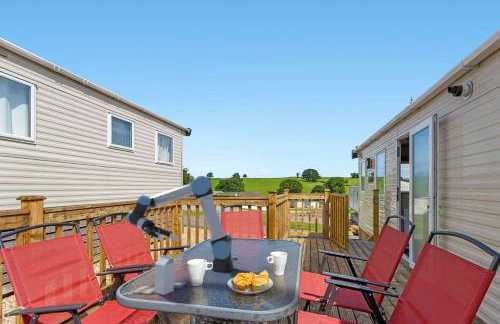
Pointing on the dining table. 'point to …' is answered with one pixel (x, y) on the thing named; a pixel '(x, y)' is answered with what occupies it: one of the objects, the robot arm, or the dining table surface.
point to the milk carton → (164, 275)
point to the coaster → (144, 290)
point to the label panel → (178, 285)
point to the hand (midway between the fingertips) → (170, 239)
